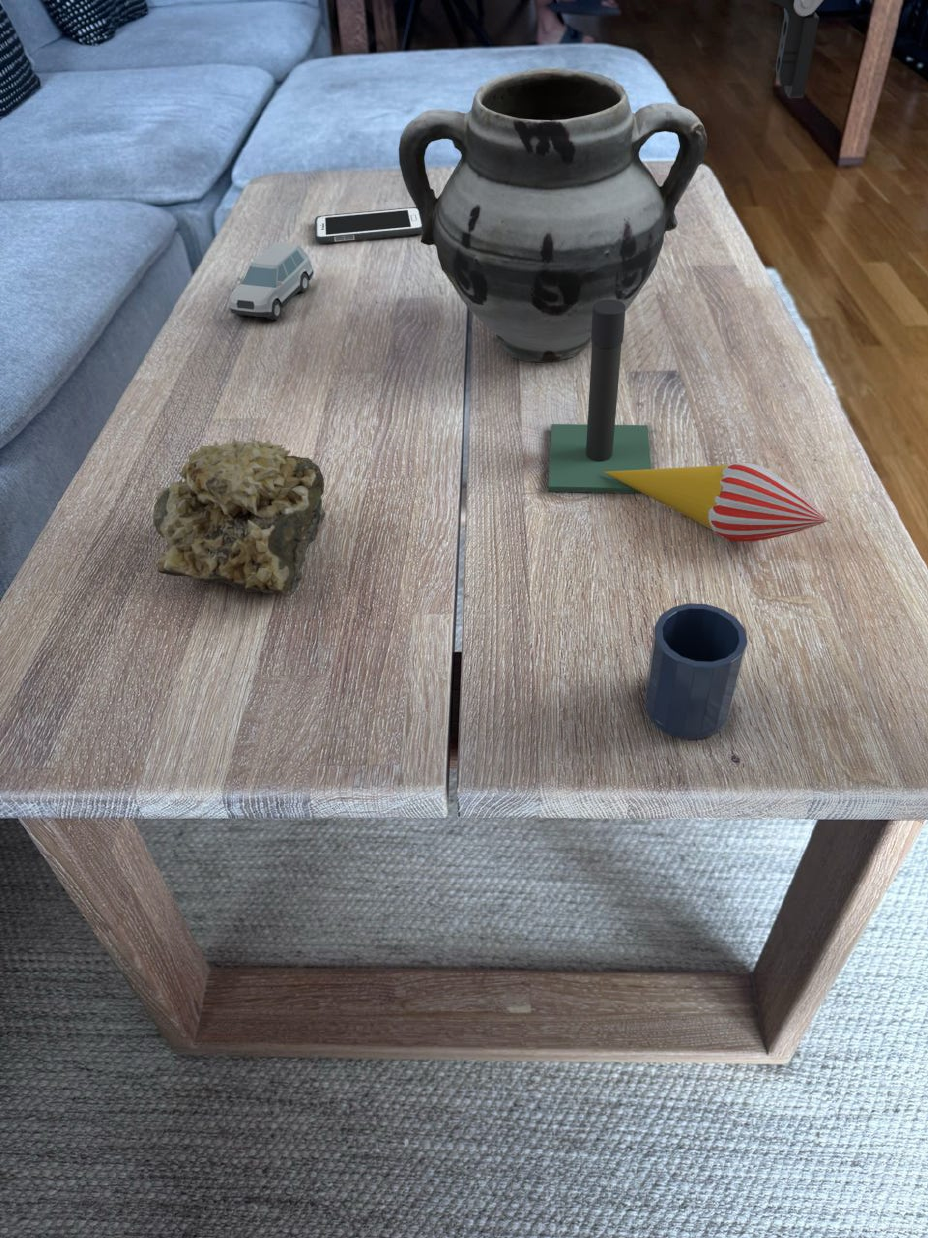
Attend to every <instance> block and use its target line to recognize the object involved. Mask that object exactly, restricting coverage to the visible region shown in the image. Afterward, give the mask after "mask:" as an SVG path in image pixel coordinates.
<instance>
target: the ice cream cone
mask: <svg viewBox="0 0 928 1238" xmlns="http://www.w3.org/2000/svg"><path fill="white" fill-rule="evenodd" d="M604 473H606V474H608V475H609V476H611V477H613V478H615V479H617V480H619V481H621V482H623V483H625V484H626V485H628V486H630V487H632V488H634V489H636V490H638V491H640V492H642V493H641V494H644V495H646V496H647V497H649V498H651V499H653V500H655V501H656V502H659V503H660V504H662V505H664V506H666V507H668V508H670V509H672V510H674V511H676V512H678V513H679V514H681V515H683V516H685V517H687V518H689V519H691V520H692V521H694V522H696V523H698V524H700V525H702V526H704V527H706V528H708V529H710V530H712V531H713V532H714V533H715V534H716V535H718V536H720V537H722V538H724V539H725V540H728V541H731V542H736V543H737V542H738V543H749V542H751V543H752V542H758V541H765V540H770V539H774V538H779V537H783V536H787V535H791V534H795V533H798V532H802V531H805V530H808V529H810V528H814V527H816V526H818V525H822V524H824V523H827V522H829V519H827V518H826V517H825V515H824V514H823V513H822V512H821V511H819V509H818V508H817V507H816V506H815V505H814V504H813V503H812V501H810V499H808V498H807V497H806V496H804V495H803V494H802V493H801V492H800V491H799V490H798V489H796V488H795V487H794V486H792V485H791V484H790V483H788V482H787V481H786V480H784V479H783V478H781V477H780V476H779V475H777V474H776V473H774V472H773V471H771V470H769V469H768V468H766V467H763V466H761V465H758V464H756V463H750V462H734V463H730V464H724V465H723V464H720V465H719V464H718V465H703V466H686V467H685V466H684V467H683V466H682V467H668V468H667V467H666V468H651V469H646V470H628V471H610V472H604Z"/></svg>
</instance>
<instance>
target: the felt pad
mask: <svg viewBox="0 0 928 1238" xmlns="http://www.w3.org/2000/svg"><path fill="white" fill-rule="evenodd" d="M586 440H587V423H586V424H585V423H584V424H583V423H582V424H581V423H579V424H577V423H576V424H575V423H574V424H571V423H551V424H550V445H549V462H548V463H549V465H548V487H547V488H548V490H547V492H550V493H551V492H552V493H553V492H555V493H595V494H596V493H603V494H643V493H642V492H640V491H638V490H636V489H634V488H632V487H630V486H628V485H626V484H625V483H623V482H621V481H619V480H617V479H615V478H613V477H611V476H609V475H608V474H606V473H604V472H610V471H628V470H646V469H652V463H651V462H652V461H651V460H652V459H651V450H650V438H649V427H648V425H647V424H615V429H614V441H613V454H612V457H611V458H610V459H608V460H606V461H593V460H591V459H589V458H588V457H587V456H586Z"/></svg>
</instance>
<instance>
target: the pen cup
mask: <svg viewBox="0 0 928 1238" xmlns="http://www.w3.org/2000/svg"><path fill="white" fill-rule="evenodd" d="M748 643H749V642H748V636H747V631H746V628H745V627H744V626H743V624H742V623H741V622H740V620H738V618H737V617H736V616H734V615H733V614H732V613H730V612H728V611H727V610H725V609H723V608H721V607H717V606H714V605H710V604H708V603H684V604H680V605H676V606H672V607H671V608H669V609H667V610H666V611H665V612H663V613H662V614H661V615H659V617H658V618H657V621H656V623H655V625H654V628H653V635H652V641H651V649H650V656H649V663H648V670H647V677H646V683H645V684H646V685H645V691H644V696H645V697H644V709H645V712H646V715H647V717H648V718H649V720H650V722H652V723H653V724H654V726H656V728H658V729H659V730H661V732H663V733H665V734H667V735H670V736H672V737H676V738H679V739H684V740H700V739H705V738H709V737H711V736H714V735H715V734H717V733H718V732H720V731H721V730H722V729H724V727H725V725H727V722H728V720H729V717H730V713H731V710H732V707H733V705H734V700H735V695H736V691H737V687H738V684H739V679H740V674H741V671H742V667H743V663H744V659H745V655H746V652H747V647H748Z"/></svg>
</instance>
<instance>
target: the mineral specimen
mask: <svg viewBox="0 0 928 1238" xmlns="http://www.w3.org/2000/svg"><path fill="white" fill-rule="evenodd" d="M286 448H287V447H286V446H284V447H283V444H272V439H271V438H269V439H268V440H266V442H263V441H262V440H258V441H257V440H255V439H254V438H251V441H244V440H236V439H235V438H233V440H232V443H231V442H227V443H222V444H221V445H220V444H219V442H218V441H217V440H215V442H214V444H212V445H211V444H210V445H200V447H199V449H198V450H195V451H192V452H189V453H188V454H187V459H188V461H187V462H186V463H185V464H184V465H183V467H182V470H181V471H180V472H178V474H179V475H180V477H181V478H183V479H184V481H182V479H179V480H178V481H174V482H172V483H171V485H170V486H169V487H164V488H162V490H161V491H159V492H158V493H157V494H156V496H155V499H156V502H155V504H154V506H153V512H152V517H153V518H152V521H153V524H154V527H155V530H156V532H157V533H158V534H159V535H160V537H162V538H163V540H165V541H166V542H167V544H168V549H167V550H166V551H163V554H162V555H161V557H160V558H158V559H156V561H157V564H156V566H157V567H156V568H157V571H158V573H160V574H164V575H169V576H171V577H184V576H185V577H189V578H195V579H196V578H197V579H199V580H201V581H205V582H208V583H225V584H227V585H230V586H231V587H232V588H234V589H235V590H237V591H242V592H243V591H244V592H247V593H251V592H252V593H253V592H262V593H264V594H269V595H273V596H275V595H280V596H281V595H282V596H285V597H286V596H287V595H292V594H293V593H295V591H296V589H297V588H298V586H299V583H300V581H301V580H302V579H303V574H302V571H301V569H302V567H303V565H304V564H305V561H306V553H307V550H308V549H309V546H310V545H311V543H313V542H314V541H315V540H316V539H317V538H318V534H319V532H320V530H321V527H322V525H323V523H324V521H325V517H326V512H325V511H326V510H324V508H323V499H322V496H323V494H324V492H325V482H324V481H325V478H324V475H323V473H322V471H321V469H320V467H319V465H318V464H316V463H315V462H313V460H312V458H310V457H300V456H296V455H289V454H290V453H291V450H286Z"/></svg>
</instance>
